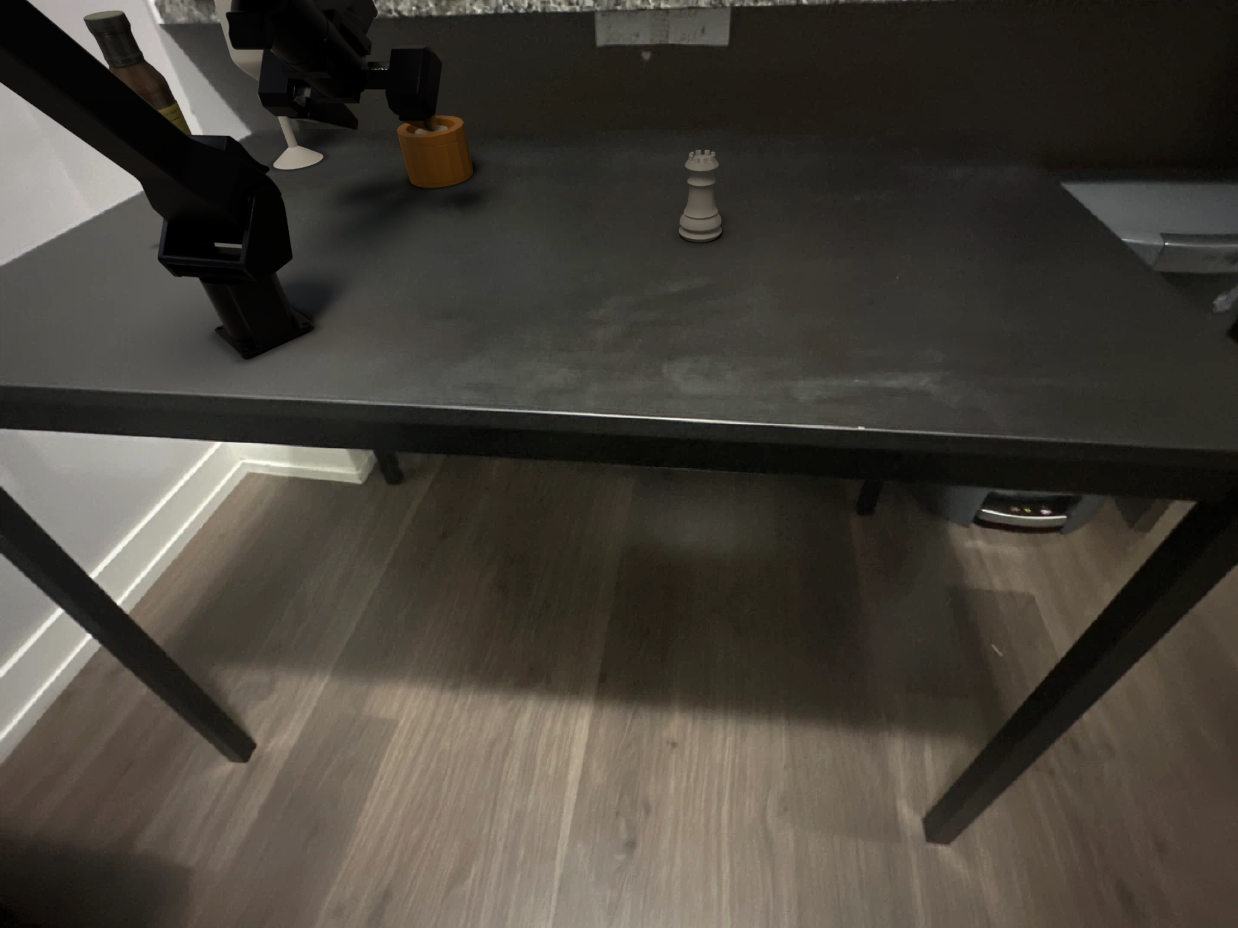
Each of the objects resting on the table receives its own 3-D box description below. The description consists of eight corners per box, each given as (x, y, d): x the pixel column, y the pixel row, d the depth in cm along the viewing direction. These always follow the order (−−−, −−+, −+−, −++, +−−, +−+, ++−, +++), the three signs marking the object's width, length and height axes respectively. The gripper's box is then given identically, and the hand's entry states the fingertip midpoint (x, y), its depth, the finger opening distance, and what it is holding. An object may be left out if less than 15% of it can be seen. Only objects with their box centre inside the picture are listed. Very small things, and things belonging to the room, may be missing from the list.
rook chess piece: (730, 232, 71) (735, 151, 65) (704, 248, 68) (706, 165, 63) (696, 221, 73) (698, 143, 68) (669, 236, 71) (669, 156, 65)
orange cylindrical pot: (485, 173, 87) (476, 122, 83) (433, 193, 83) (420, 141, 79) (449, 160, 91) (439, 111, 87) (398, 178, 88) (384, 128, 83)
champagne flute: (280, 154, 97) (200, -56, 81) (327, 149, 98) (257, -61, 81) (267, 171, 92) (179, -49, 76) (317, 166, 93) (240, -54, 76)
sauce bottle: (161, 196, 88) (66, 14, 74) (211, 183, 90) (129, 4, 77) (171, 211, 84) (73, 21, 70) (223, 197, 86) (139, 11, 73)
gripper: (406, -60, 59) (480, 54, 74) (224, -52, 63) (329, 55, 78) (389, 67, 59) (466, 155, 74) (207, 67, 63) (316, 151, 78)
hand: (393, 126), depth 76 cm, fingers open, 9 cm apart
